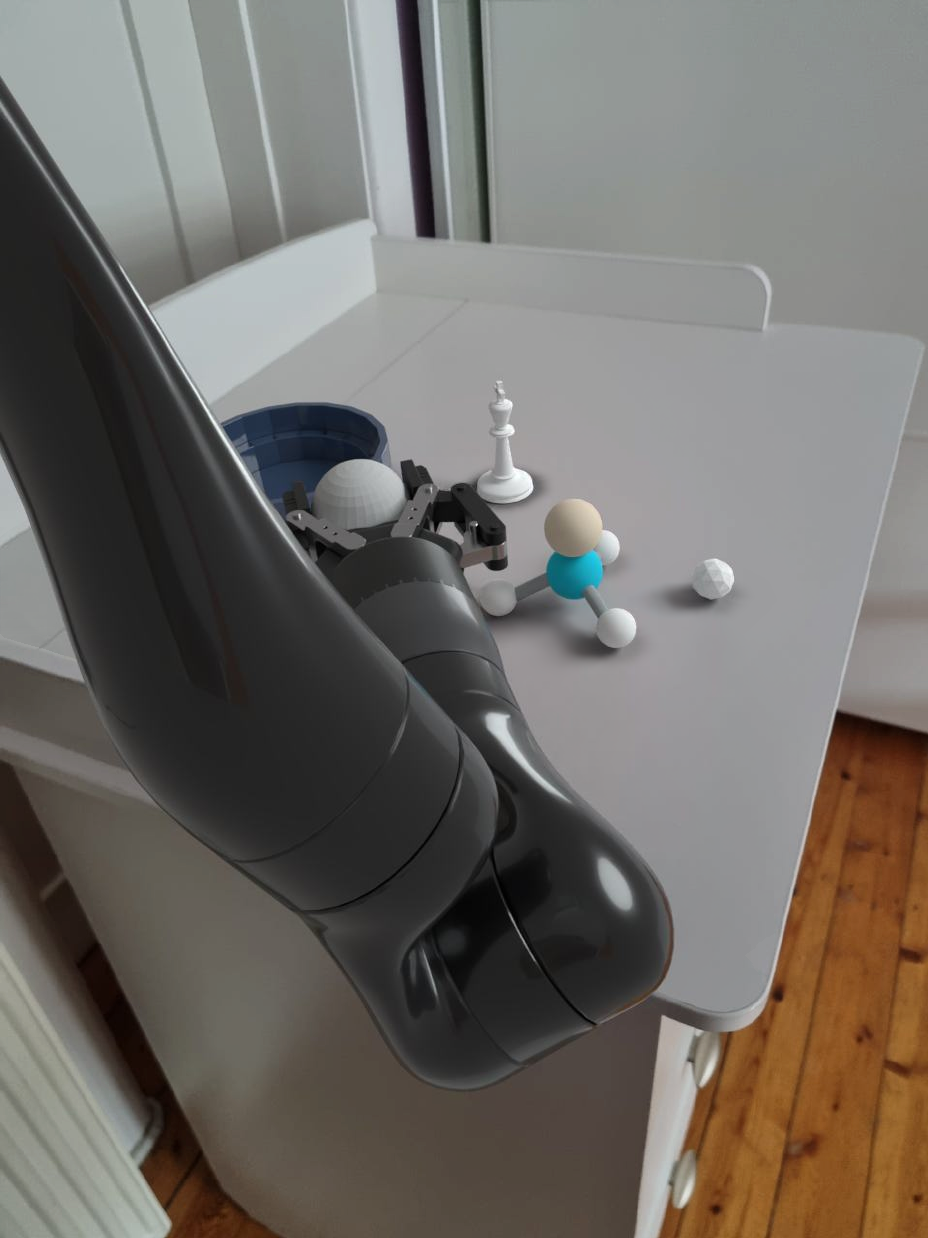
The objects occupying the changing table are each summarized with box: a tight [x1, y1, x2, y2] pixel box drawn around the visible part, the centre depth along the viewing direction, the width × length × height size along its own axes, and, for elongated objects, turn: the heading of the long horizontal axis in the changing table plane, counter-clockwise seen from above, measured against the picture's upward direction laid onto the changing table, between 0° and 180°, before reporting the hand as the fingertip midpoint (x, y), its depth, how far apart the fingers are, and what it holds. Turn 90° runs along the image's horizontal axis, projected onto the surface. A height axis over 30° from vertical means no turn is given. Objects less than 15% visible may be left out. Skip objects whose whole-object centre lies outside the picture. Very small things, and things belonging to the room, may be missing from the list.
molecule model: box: [479, 498, 637, 649], centre depth 66 cm, size 12×12×9 cm
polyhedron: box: [691, 557, 735, 600], centre depth 68 cm, size 3×3×3 cm
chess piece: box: [476, 380, 534, 504], centre depth 79 cm, size 5×5×10 cm
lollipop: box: [311, 459, 411, 530], centre depth 59 cm, size 6×6×15 cm
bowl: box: [220, 401, 393, 521], centre depth 81 cm, size 17×17×6 cm
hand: (353, 484), depth 58 cm, fingers closed on lollipop, 6 cm apart
